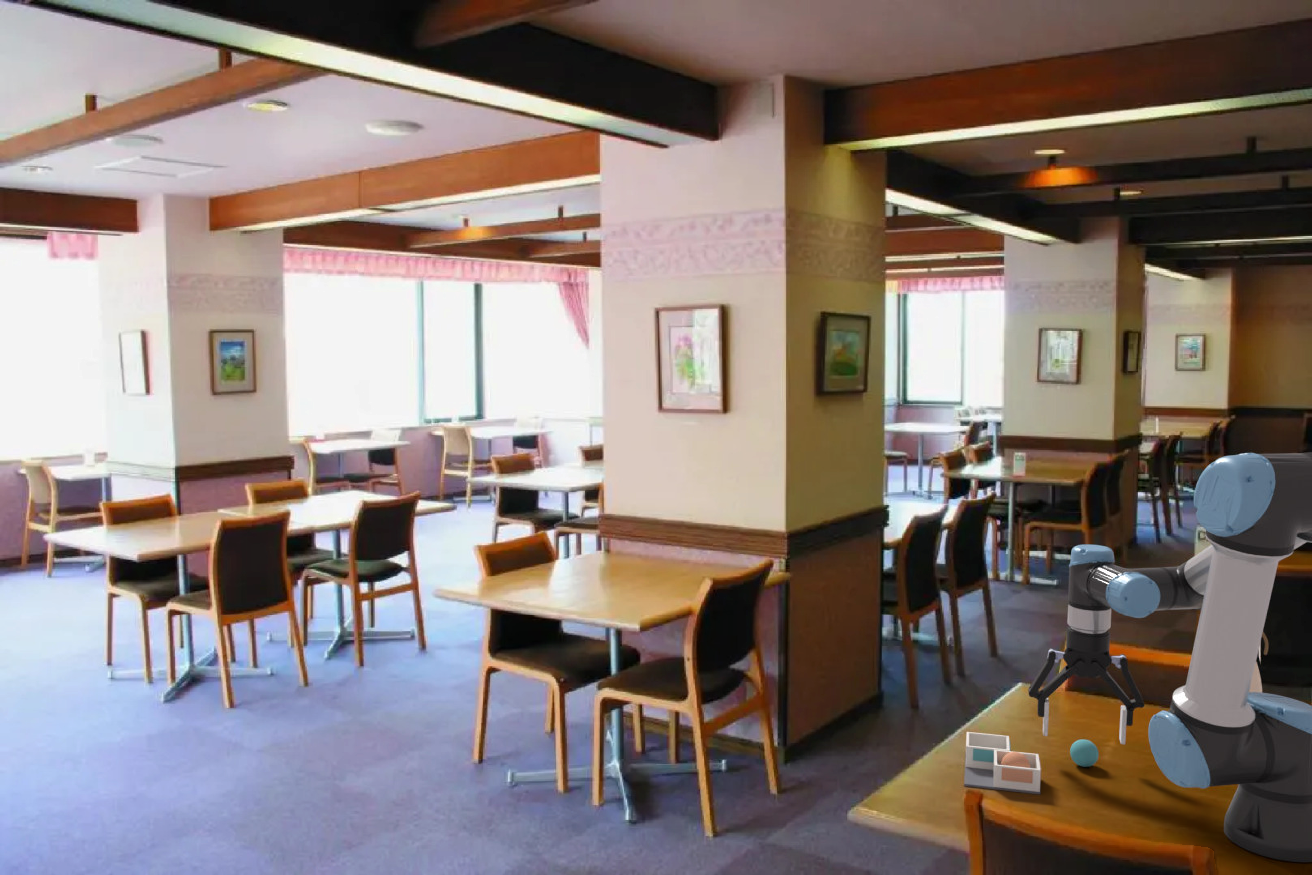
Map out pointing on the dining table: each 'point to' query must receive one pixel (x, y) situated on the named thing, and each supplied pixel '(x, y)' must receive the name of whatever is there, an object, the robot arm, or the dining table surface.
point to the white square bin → (984, 749)
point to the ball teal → (1084, 753)
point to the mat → (984, 779)
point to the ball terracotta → (1015, 760)
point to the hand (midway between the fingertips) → (1083, 737)
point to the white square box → (1017, 773)
